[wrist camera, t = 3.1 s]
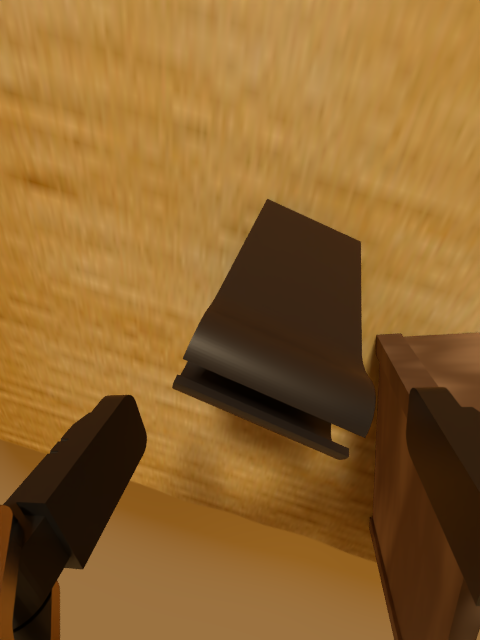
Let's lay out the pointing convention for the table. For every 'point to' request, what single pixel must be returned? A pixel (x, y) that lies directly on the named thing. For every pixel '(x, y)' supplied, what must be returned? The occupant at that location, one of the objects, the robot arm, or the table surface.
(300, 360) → the phone stand
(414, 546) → the wooden crate
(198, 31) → the table surface
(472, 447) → the robot arm
